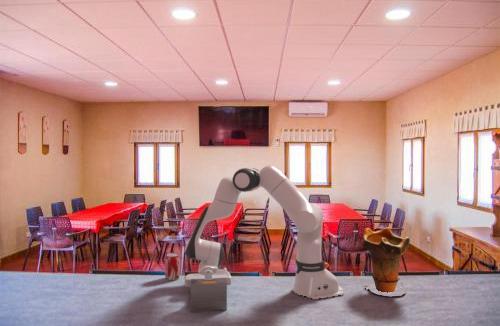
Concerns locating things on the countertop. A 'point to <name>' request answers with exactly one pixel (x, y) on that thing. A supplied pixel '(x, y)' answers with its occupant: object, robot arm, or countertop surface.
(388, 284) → the decorative vase
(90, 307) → the countertop surface
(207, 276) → the grey block
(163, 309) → the countertop surface
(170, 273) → the soda can
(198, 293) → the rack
